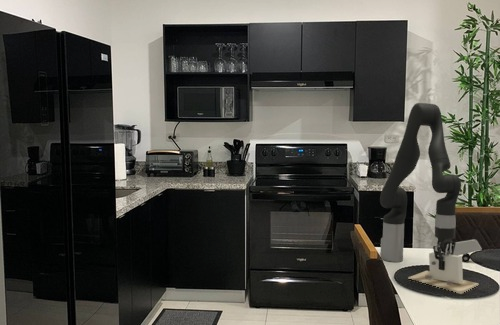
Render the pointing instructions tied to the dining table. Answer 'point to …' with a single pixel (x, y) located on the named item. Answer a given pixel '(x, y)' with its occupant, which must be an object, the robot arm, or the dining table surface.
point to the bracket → (466, 248)
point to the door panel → (446, 268)
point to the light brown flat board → (444, 283)
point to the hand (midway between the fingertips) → (443, 268)
